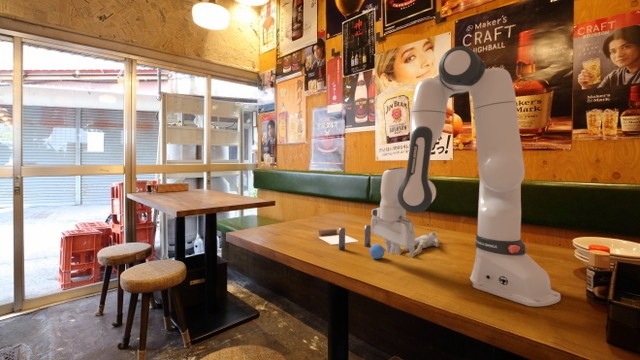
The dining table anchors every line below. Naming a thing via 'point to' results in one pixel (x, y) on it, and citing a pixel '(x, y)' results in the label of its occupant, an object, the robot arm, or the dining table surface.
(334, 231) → the strip
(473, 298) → the dining table surface
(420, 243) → the figurine
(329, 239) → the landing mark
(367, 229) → the post right
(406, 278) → the dining table surface
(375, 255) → the ball
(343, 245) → the post left
